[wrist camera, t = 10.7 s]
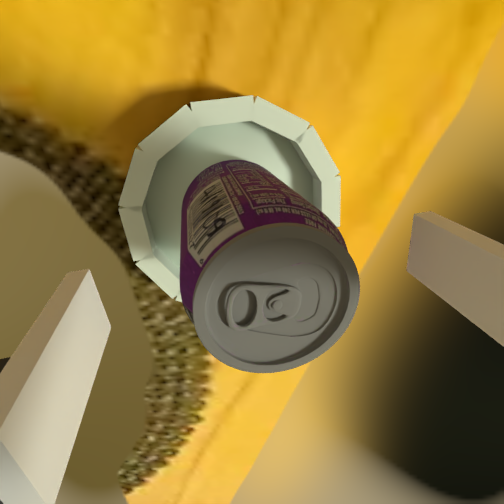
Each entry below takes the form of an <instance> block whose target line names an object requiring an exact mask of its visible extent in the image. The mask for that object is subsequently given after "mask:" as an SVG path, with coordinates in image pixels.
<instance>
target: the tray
mask: <svg viewBox="0 0 504 504" xmlns="http://www.w3.org/2000/svg"><path fill="white" fill-rule="evenodd" d="M190 106H191V107H188V106H187V104H186V105H184V106H183V107H182V108H181V109H180V110H178V111H177V112H176V113H175V114H174V115H172V116H171V117H170V118H169V119H168V120H167V121H165V122H164V123H163V124H162V125H161V126H159V127H158V128H157V129H156V130H155V131H153V132H152V133H151V134H150V135H149V136H147V137H146V138H145V139H144V140H143V141H141V142H140V143H139V144H138V146H137V147H136V148H135V151H134V154H133V157H132V161H131V164H130V167H129V171H128V174H127V177H126V181H125V184H124V187H123V191H122V194H121V197H120V201H119V204H118V205H119V206H120V207H119V209H118V210H119V214H120V217H121V221H122V224H123V227H124V231H125V234H126V238H127V241H128V245H129V248H130V251H131V255H132V258H133V261H136V264H135V265H137V266H138V267H139V268H140V269H141V270H142V271H143V272H144V273H145V274H146V275H147V276H148V277H149V278H151V279H152V280H153V281H154V282H155V283H156V284H157V285H158V286H159V287H160V288H161V289H162V290H164V291H165V292H166V293H167V294H168V295H169V296H170V297H171V298H172V299H173V298H174V297H176V301H180V302H182V299H181V293H180V243H181V210H182V202H183V198H184V195H185V193H186V191H187V189H188V187H189V185H190V184H191V182H192V181H193V180H194V179H195V177H196V176H197V175H198V174H199V173H201V172H202V171H203V170H205V169H206V168H208V167H209V166H211V165H214V164H216V163H219V162H222V161H227V160H246V161H250V162H253V163H256V164H258V165H260V166H262V167H264V168H265V169H267V170H268V171H269V172H271V173H272V174H273V175H275V176H276V177H277V178H278V179H280V180H281V181H282V182H284V183H285V184H286V185H288V186H289V187H290V188H292V189H293V190H294V191H295V192H297V193H298V194H299V195H301V196H302V197H303V198H305V199H306V200H307V201H308V202H310V203H311V204H312V205H314V206H315V207H316V208H318V209H319V210H320V211H321V212H323V213H324V214H325V215H326V216H327V217H328V218H329V219H330V220H331V221H332V222H333V223H334V224H335V226H336V227H339V226H340V184H341V176H340V175H337V174H338V173H340V172H339V170H338V169H337V167H336V165H335V163H334V162H333V160H332V158H331V156H330V155H329V153H328V151H327V150H326V148H325V146H324V144H323V143H322V141H321V139H320V137H319V136H318V134H317V132H316V130H315V129H314V127H313V126H312V125H309V124H310V123H309V122H307V121H305V120H303V119H301V118H299V117H297V116H295V115H293V114H292V113H290V112H288V111H286V110H284V109H282V108H280V107H278V106H276V105H274V104H272V103H270V102H268V101H266V100H264V99H262V98H260V97H258V96H254V97H253V95H251V96H242V97H233V98H224V99H215V100H206V101H197V102H190ZM338 230H339V229H338Z"/></svg>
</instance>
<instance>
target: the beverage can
mask: <svg viewBox="0 0 504 504" xmlns="http://www.w3.org/2000/svg"><path fill="white" fill-rule="evenodd" d="M180 293H181V299H182V302H183V306H184V308H185V311H186V313H187V315H188V316H189V318H190V320H191V321H192V323H193V324H194V325H195V329H196V332H197V334H198V337H199V339H200V340H201V342H202V344H203V345H204V346H205V348H206V349H207V350H208V351H209V352H210V353H211V354H212V355H213V356H214V357H215V358H217V359H218V360H219V361H221V362H223V363H224V364H226V365H228V366H231V367H233V368H236V369H239V370H242V371H247V372H254V373H274V372H280V371H285V370H289V369H293V368H296V367H298V366H301V365H303V364H306V363H308V362H310V361H312V360H313V359H315V358H317V357H318V356H320V355H321V354H323V353H324V352H325V351H327V350H328V349H329V348H330V347H331V346H333V345H334V344H335V343H336V342H337V341H338V339H339V338H340V337H341V336H342V335H343V333H344V332H345V331H346V329H347V328H348V326H349V324H350V323H351V321H352V319H353V317H354V314H355V311H356V308H357V305H358V301H359V294H360V282H359V275H358V271H357V268H356V266H355V263H354V261H353V259H352V258H351V256H350V254H349V253H348V250H347V247H346V244H345V241H344V239H343V237H342V235H341V233H340V231H339V230H338V228H337V227H336V226H335V224H334V223H333V222H332V221H331V220H330V219H329V218H328V217H327V216H326V215H325V214H324V213H323V212H321V211H320V210H319V209H318V208H316V207H315V206H314V205H312V204H311V203H310V202H308V201H307V200H306V199H305V198H303V197H302V196H301V195H299V194H298V193H297V192H295V191H294V190H293V189H292V188H290V187H289V186H288V185H286V184H285V183H284V182H282V181H281V180H280V179H278V178H277V177H276V176H275V175H273V174H272V173H271V172H269V171H268V170H267V169H265V168H264V167H262V166H260V165H258V164H256V163H253V162H250V161H246V160H227V161H222V162H219V163H216V164H214V165H211V166H209V167H208V168H206V169H205V170H203V171H202V172H201V173H199V174H198V175H197V176H196V177H195V179H194V180H193V181H192V182H191V184H190V185H189V187H188V189H187V191H186V193H185V195H184V198H183V202H182V210H181V243H180Z"/></svg>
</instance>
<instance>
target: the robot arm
mask: <svg viewBox="0 0 504 504" xmlns="http://www.w3.org/2000/svg"><path fill="white" fill-rule="evenodd" d="M407 271H408V272H409V273H410V274H411V275H413V276H414V277H415V278H417V279H418V280H419V281H420V282H422V283H423V284H424V285H426V286H427V287H428V288H429V289H431V290H432V291H433V292H434V293H436V294H437V295H438V296H440V297H441V298H442V299H443V300H445V301H446V302H447V303H449V304H450V305H451V306H452V307H454V308H455V309H456V310H458V311H459V312H460V313H461V314H463V315H464V316H465V317H466V318H468V319H469V320H471V321H472V322H473V323H474V324H475V325H477V326H478V327H479V328H481V329H482V330H483V331H484V332H486V333H487V334H488V335H490V336H491V337H492V338H493V339H495V340H496V341H497V342H499V343H500V344H501V345H502V346H504V245H502V244H501V243H498V242H496V241H494V240H492V239H490V238H488V237H485V236H483V235H481V234H479V233H477V232H475V231H472V230H470V229H468V228H466V227H464V226H462V225H460V224H457V223H455V222H453V221H451V220H449V219H446V218H444V217H442V216H440V215H438V214H436V213H434V212H431V211H429V212H422V213H417V214H414V218H413V226H412V233H411V241H410V248H409V255H408V263H407ZM110 329H111V326H110V323H109V321H108V318H107V315H106V312H105V310H104V307H103V304H102V302H101V299H100V296H99V294H98V291H97V288H96V286H95V283H94V280H93V278H92V275H91V272H90V270H89V269H86V270H80V271H74V272H68V273H67V274H66V276H65V277H64V279H63V280H62V282H61V283H60V285H59V286H58V288H57V289H56V291H55V292H54V294H53V295H52V297H51V298H50V300H49V301H48V303H47V304H46V306H45V307H44V309H43V310H42V312H41V313H40V315H39V316H38V318H37V319H36V321H35V322H34V324H33V325H32V327H31V328H30V330H29V331H28V332H27V334H26V335H25V337H24V338H23V340H22V341H21V343H20V345H19V346H18V347H17V349H16V351H15V352H14V353H13V355H12V356H11V357H9V358H4V359H0V504H55V501H56V497H57V494H58V491H59V488H60V485H61V482H62V479H63V476H64V472H65V469H66V466H67V463H68V460H69V457H70V454H71V450H72V447H73V445H74V441H75V438H76V435H77V432H78V429H79V426H80V423H81V420H82V416H83V413H84V410H85V407H86V404H87V401H88V398H89V395H90V392H91V388H92V385H93V382H94V379H95V376H96V373H97V370H98V367H99V364H100V360H101V357H102V354H103V351H104V348H105V345H106V342H107V339H108V335H109V332H110Z"/></svg>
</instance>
